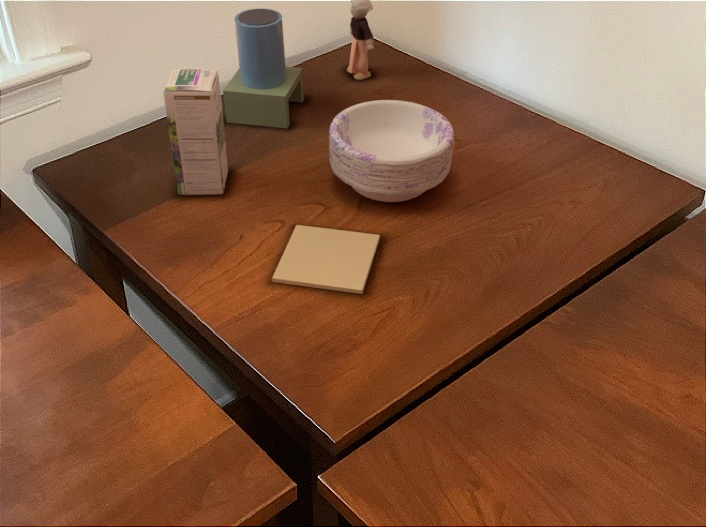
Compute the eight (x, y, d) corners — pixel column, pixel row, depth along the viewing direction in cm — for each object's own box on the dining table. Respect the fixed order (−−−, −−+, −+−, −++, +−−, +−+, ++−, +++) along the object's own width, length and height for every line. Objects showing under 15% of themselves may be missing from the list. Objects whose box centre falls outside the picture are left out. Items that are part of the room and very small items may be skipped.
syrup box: (185, 171, 106) (168, 67, 97) (230, 170, 106) (218, 67, 97) (178, 196, 102) (160, 90, 93) (225, 195, 102) (212, 89, 93)
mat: (272, 282, 89) (271, 278, 88) (296, 228, 96) (296, 224, 96) (362, 294, 87) (362, 290, 87) (380, 238, 95) (380, 234, 94)
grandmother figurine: (336, 68, 129) (334, -11, 121) (356, 62, 131) (355, -16, 123) (364, 87, 124) (364, 5, 116) (384, 80, 126) (385, -1, 118)
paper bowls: (475, 187, 103) (480, 132, 98) (381, 232, 96) (381, 174, 91) (397, 139, 112) (399, 86, 107) (306, 176, 105) (303, 121, 100)
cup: (234, 87, 114) (227, 24, 108) (249, 67, 119) (243, 6, 113) (278, 91, 113) (274, 28, 107) (291, 71, 118) (287, 9, 112)
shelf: (226, 122, 116) (222, 90, 113) (246, 93, 123) (243, 62, 120) (287, 128, 115) (285, 96, 112) (304, 99, 122) (302, 67, 119)
